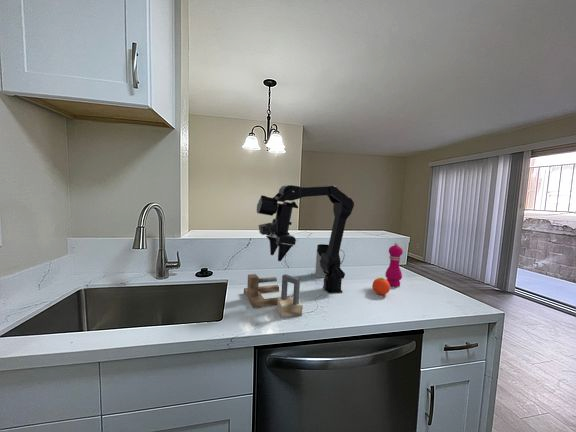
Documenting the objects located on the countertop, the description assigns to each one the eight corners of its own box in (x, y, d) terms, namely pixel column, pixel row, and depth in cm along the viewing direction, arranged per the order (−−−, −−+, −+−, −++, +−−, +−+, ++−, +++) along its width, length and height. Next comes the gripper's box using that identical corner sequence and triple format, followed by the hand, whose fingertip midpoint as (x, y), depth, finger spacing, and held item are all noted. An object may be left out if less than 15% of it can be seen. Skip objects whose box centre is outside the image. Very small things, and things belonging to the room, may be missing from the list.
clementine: (372, 289, 112) (373, 273, 112) (389, 292, 110) (390, 275, 109) (371, 295, 105) (372, 278, 104) (389, 299, 102) (391, 281, 102)
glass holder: (315, 271, 134) (316, 243, 133) (342, 274, 131) (344, 245, 130) (313, 276, 126) (315, 246, 124) (343, 280, 123) (345, 249, 122)
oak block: (296, 306, 91) (297, 296, 91) (302, 315, 84) (302, 305, 84) (277, 307, 89) (277, 297, 89) (281, 316, 83) (281, 306, 82)
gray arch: (284, 297, 89) (285, 274, 89) (298, 303, 85) (300, 278, 84) (281, 299, 88) (282, 275, 87) (295, 304, 84) (297, 279, 83)
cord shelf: (277, 289, 106) (278, 268, 105) (290, 303, 93) (292, 279, 93) (243, 293, 101) (244, 270, 100) (253, 308, 88) (254, 282, 87)
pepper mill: (384, 285, 118) (387, 242, 116) (384, 281, 125) (388, 240, 123) (401, 288, 115) (405, 244, 114) (400, 283, 122) (404, 242, 120)
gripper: (256, 212, 103) (249, 250, 104) (270, 216, 86) (261, 262, 87) (282, 216, 108) (275, 253, 108) (300, 222, 90) (291, 265, 91)
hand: (275, 257), depth 98 cm, fingers open, 9 cm apart
